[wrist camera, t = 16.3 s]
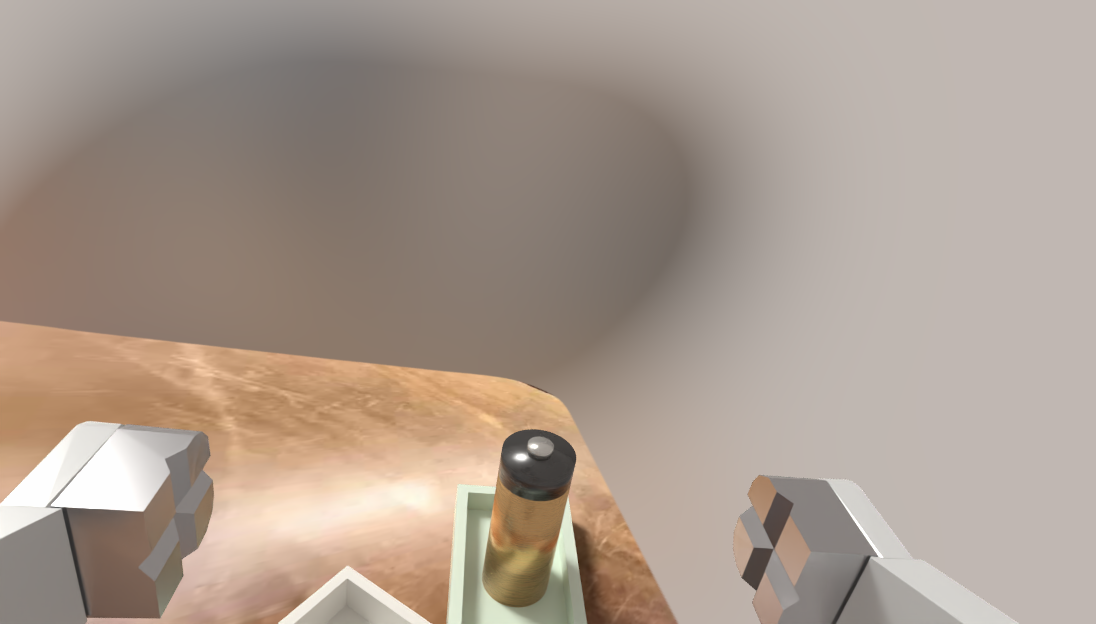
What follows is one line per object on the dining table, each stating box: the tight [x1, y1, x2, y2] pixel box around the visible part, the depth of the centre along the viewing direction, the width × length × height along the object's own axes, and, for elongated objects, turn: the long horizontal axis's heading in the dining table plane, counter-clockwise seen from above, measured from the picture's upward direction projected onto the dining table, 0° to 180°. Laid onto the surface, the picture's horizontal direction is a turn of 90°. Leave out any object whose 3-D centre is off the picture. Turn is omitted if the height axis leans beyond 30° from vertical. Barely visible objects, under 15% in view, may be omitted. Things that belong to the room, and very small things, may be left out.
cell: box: [482, 429, 576, 607], centre depth 42 cm, size 5×5×12 cm
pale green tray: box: [446, 484, 587, 624], centre depth 44 cm, size 14×9×2 cm, turn 4°
